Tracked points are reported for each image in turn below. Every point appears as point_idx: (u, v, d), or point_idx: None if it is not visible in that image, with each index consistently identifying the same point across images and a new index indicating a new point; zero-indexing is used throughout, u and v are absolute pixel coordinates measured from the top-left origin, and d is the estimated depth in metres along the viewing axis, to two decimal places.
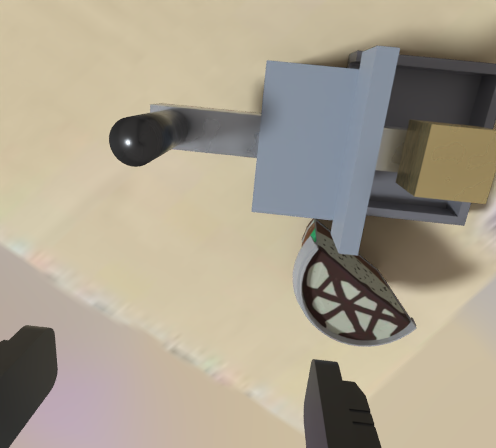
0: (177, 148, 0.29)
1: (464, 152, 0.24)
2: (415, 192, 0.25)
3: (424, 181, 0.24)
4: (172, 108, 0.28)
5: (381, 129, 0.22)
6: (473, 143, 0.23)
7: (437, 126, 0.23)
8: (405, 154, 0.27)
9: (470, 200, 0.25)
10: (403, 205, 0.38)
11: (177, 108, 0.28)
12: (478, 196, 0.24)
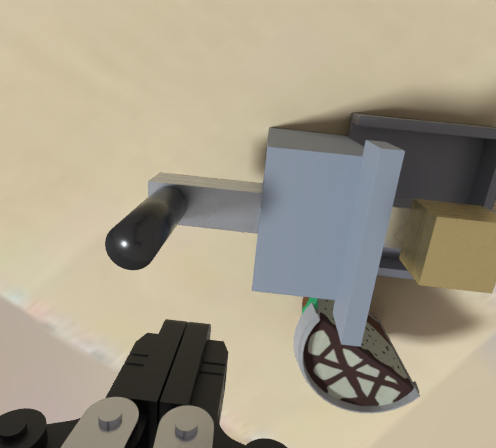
0: (176, 223, 0.28)
1: (470, 244, 0.23)
2: (419, 281, 0.24)
3: (429, 271, 0.24)
4: (171, 185, 0.27)
5: (385, 227, 0.21)
6: (479, 235, 0.23)
7: (442, 218, 0.23)
8: (408, 234, 0.27)
9: (476, 289, 0.24)
10: None
11: (176, 185, 0.27)
12: (484, 286, 0.24)
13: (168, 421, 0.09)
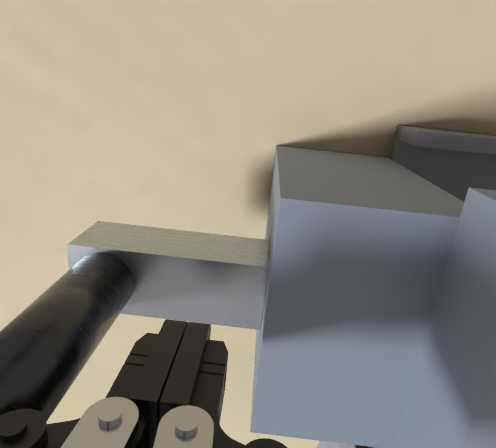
0: None
1: None
2: None
3: None
4: (105, 251, 0.16)
5: None
6: None
7: None
8: None
9: None
10: None
11: (114, 251, 0.16)
12: None
13: (168, 421, 0.09)
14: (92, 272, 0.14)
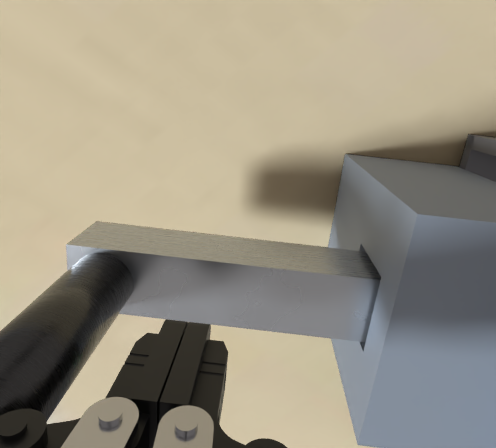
0: None
1: None
2: None
3: None
4: (104, 251, 0.16)
5: None
6: None
7: None
8: None
9: None
10: None
11: (113, 251, 0.16)
12: None
13: (168, 421, 0.09)
14: (91, 272, 0.14)
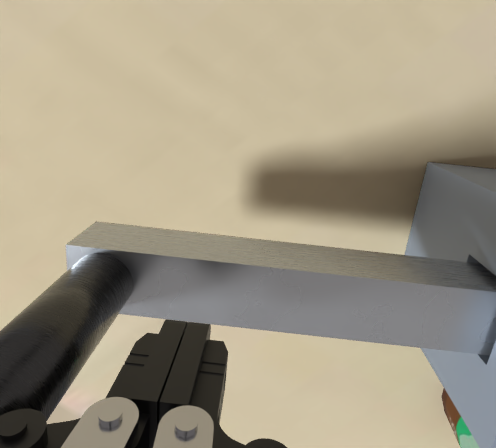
0: None
1: None
2: None
3: None
4: (104, 251, 0.16)
5: None
6: None
7: None
8: None
9: None
10: None
11: (112, 251, 0.16)
12: None
13: (168, 421, 0.09)
14: (91, 272, 0.14)
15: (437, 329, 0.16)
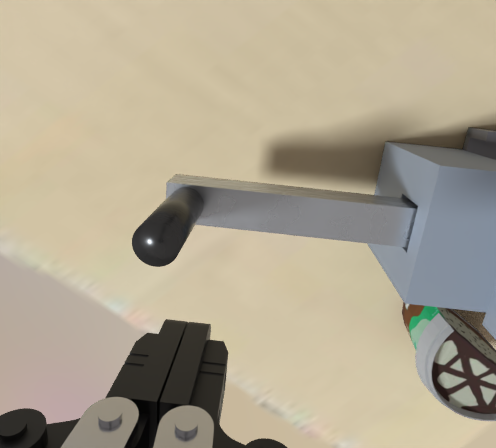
0: None
1: None
2: None
3: None
4: (188, 186, 0.28)
5: None
6: None
7: None
8: None
9: None
10: None
11: (193, 186, 0.28)
12: None
13: (168, 421, 0.09)
14: (186, 193, 0.27)
15: (378, 231, 0.28)
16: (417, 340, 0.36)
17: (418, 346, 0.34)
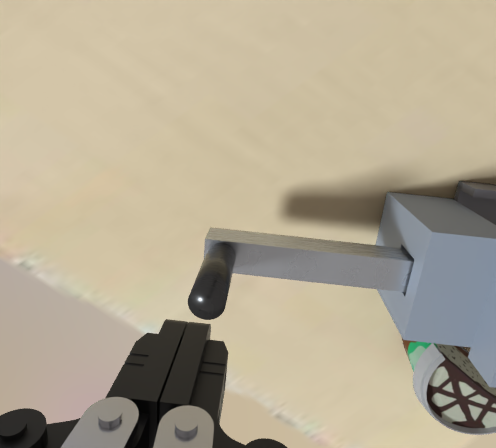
0: None
1: None
2: None
3: None
4: (223, 242, 0.34)
5: None
6: None
7: None
8: None
9: None
10: None
11: (227, 242, 0.34)
12: None
13: (168, 421, 0.09)
14: (223, 251, 0.32)
15: (381, 279, 0.34)
16: (414, 364, 0.42)
17: (415, 370, 0.40)
